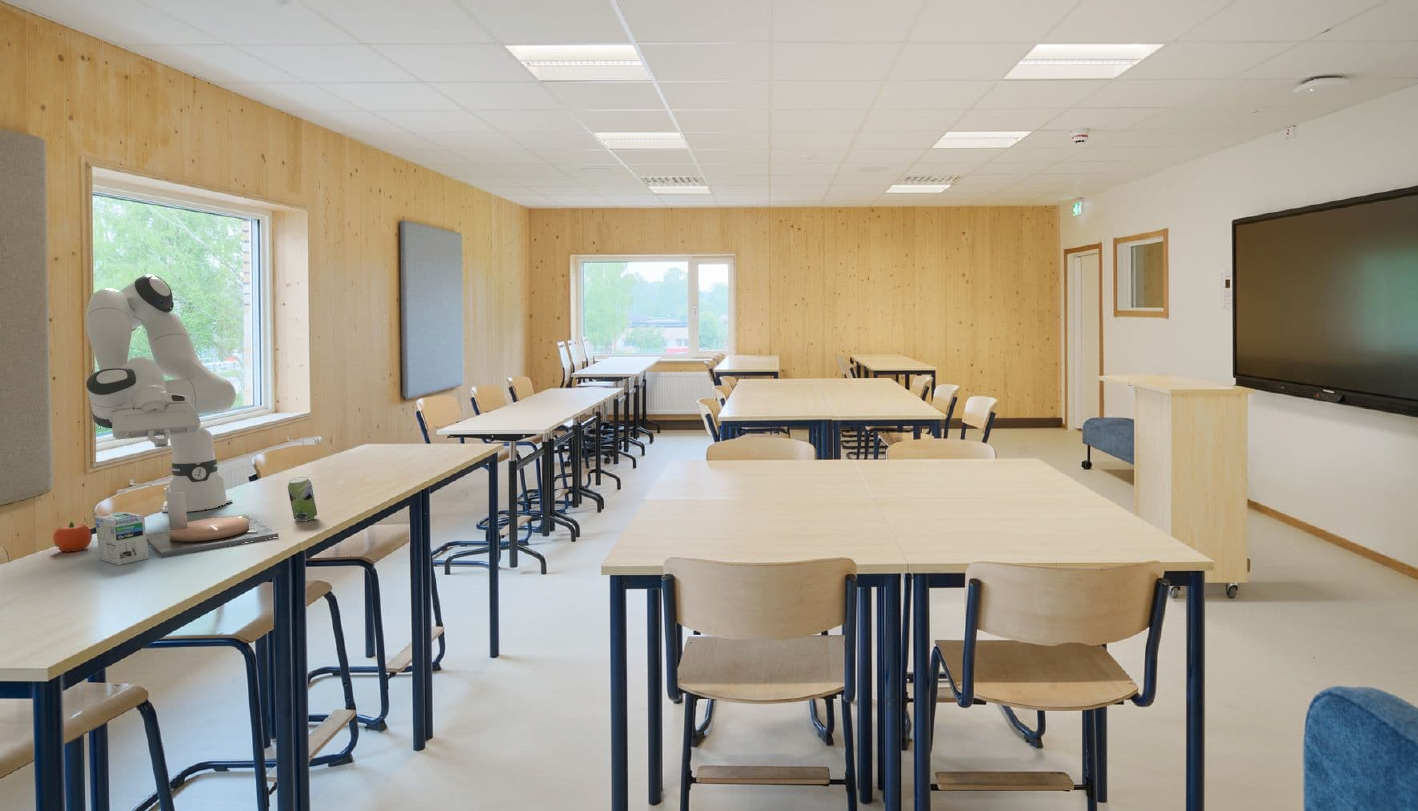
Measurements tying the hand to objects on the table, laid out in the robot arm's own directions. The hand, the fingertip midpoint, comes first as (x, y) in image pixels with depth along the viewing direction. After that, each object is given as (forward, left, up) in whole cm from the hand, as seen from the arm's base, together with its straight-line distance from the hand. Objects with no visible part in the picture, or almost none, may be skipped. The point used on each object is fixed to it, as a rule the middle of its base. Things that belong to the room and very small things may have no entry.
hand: (161, 445), depth 238 cm
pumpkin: (+4, -21, -24) cm, 32 cm away
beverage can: (+12, +31, -24) cm, 41 cm away
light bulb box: (+24, -13, -24) cm, 37 cm away
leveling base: (+16, +7, -23) cm, 29 cm away
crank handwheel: (+16, +7, -22) cm, 28 cm away
